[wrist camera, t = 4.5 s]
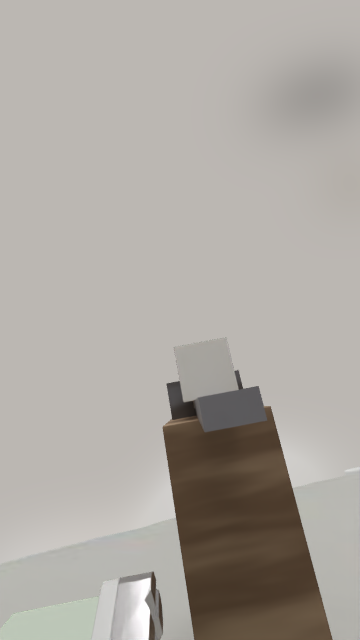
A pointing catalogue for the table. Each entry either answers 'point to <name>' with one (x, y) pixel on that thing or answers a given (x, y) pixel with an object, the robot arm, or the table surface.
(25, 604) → the table surface
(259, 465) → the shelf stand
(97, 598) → the block
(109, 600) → the robot arm
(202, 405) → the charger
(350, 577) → the table surface
